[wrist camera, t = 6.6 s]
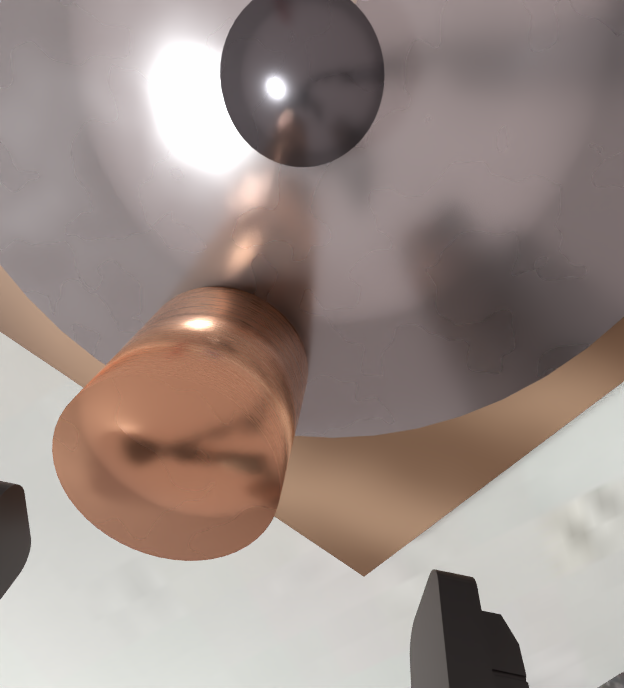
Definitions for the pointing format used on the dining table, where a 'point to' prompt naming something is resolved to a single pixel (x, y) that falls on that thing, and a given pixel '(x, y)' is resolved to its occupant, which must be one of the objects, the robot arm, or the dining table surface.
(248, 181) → the dial
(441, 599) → the robot arm
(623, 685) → the tankard
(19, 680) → the dining table surface
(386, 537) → the dial base
